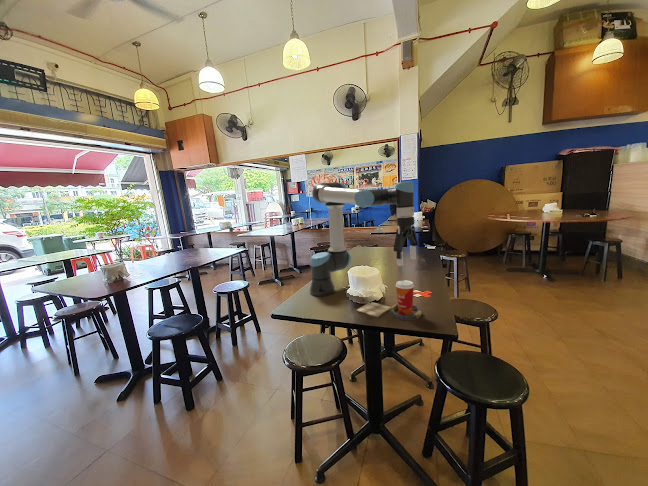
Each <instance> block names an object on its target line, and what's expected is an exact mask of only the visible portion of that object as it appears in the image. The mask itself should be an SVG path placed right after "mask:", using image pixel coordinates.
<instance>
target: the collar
mask: <svg viewBox="0 0 648 486" xmlns="http://www.w3.org/2000/svg"><path fill="white" fill-rule="evenodd" d="M389 307H390V309H389V312H390V314H391V316H392V317H393V318H395V319H398V320H402V321H413V320H417V319H419V318H420V317H422V310H421V309H420V307H418V305H415V304H413V307H412V311H415V313H414V314H413V313H412V315H402V314H399V312H396V310H398V303H395V304H393V305H392V306H389Z"/></svg>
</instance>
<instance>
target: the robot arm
mask: <svg viewBox="0 0 648 486" xmlns="http://www.w3.org/2000/svg"><path fill="white" fill-rule="evenodd" d="M414 192H415V191H414V182H412V181H401V182H397V183H396V184H395V187H393V188H392V187H390V188H376V189H366V188H363V189H362V188H348V187H347V186H346V185H345V184H344V183H343V182H338V181H337V182H319V183H317V184H316V185H315V186H314V187H313V189H312V194H311V195H312V198H313V200H314V201H315V202H317V203H318V204H325V207H326V208H327V209H328V211H327V212H328V227H329V230H328V231H329V245H330V247H329V248H328V249H327V251H324V252H323V251H321V252H317V253H314V254H313V255H311V256H310V258H309V259H310V261H309V262H310V263H309V264H310V274H311V282H310V283H311V284H310V288H309V293H310V294H311V296H315V297H325V296H330V295H332V294H334V293H335V292H336V291H335V290H336V289H335V286H334V283H333V281H332V273H334V272H337V271H342V270H345V269H347V268H349V266H350V264H351V262H352V256H351V254H350V252H349V251H348V250H347V248H346V247H345V239H344V237H345V235H344V215H343V213H344V212H343V208H344V207H345V205H352V206H353V205H354V206H358V207H360V208H369V207H377V206H378V207H379V206H386V205H389V206H390V205H396V217H397V218H396V225H397V226H398V227H399V228H396V230H395V231H396V233H395V239H394V244H393V252H395V253H396V266H397V267H398V266H399V267H404V251H403V247H404V245H405V241H406V240H408V242H409V260H417V246H419V241H418V237H417V233H416V228H415V217H414V215H415V207H414V206H415V203H414V202H415V201H414V200H415V199H414V195H415V194H414Z"/></svg>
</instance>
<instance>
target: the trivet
mask: <svg viewBox="0 0 648 486" xmlns="http://www.w3.org/2000/svg"><path fill="white" fill-rule="evenodd" d="M370 302H371V303H369V302H367V303H366V304H364V305H363V306H361V307H359V308H357V309H356V311H357V312H359V313H363V314H365V315H368V316H371V317H375V318H379V317H381V316H382V315H384V314H385V313H386V312H388V311H390V307H391V306H389V305H388V306H387V305H385V304H381V303H378V302H373V301H370Z"/></svg>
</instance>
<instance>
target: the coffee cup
mask: <svg viewBox="0 0 648 486" xmlns="http://www.w3.org/2000/svg"><path fill="white" fill-rule="evenodd" d="M394 286H395V288H396V299H397V300H396V301H397V304H398V309H397V310H398V312H397V313H399V314H402V315H412V314H413V310H412V307H413V305H414V304H413V303H414V288H415V285H414V282H413V281H411V280H405V279H404V280H398V281H396V284H395V285H394Z"/></svg>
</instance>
